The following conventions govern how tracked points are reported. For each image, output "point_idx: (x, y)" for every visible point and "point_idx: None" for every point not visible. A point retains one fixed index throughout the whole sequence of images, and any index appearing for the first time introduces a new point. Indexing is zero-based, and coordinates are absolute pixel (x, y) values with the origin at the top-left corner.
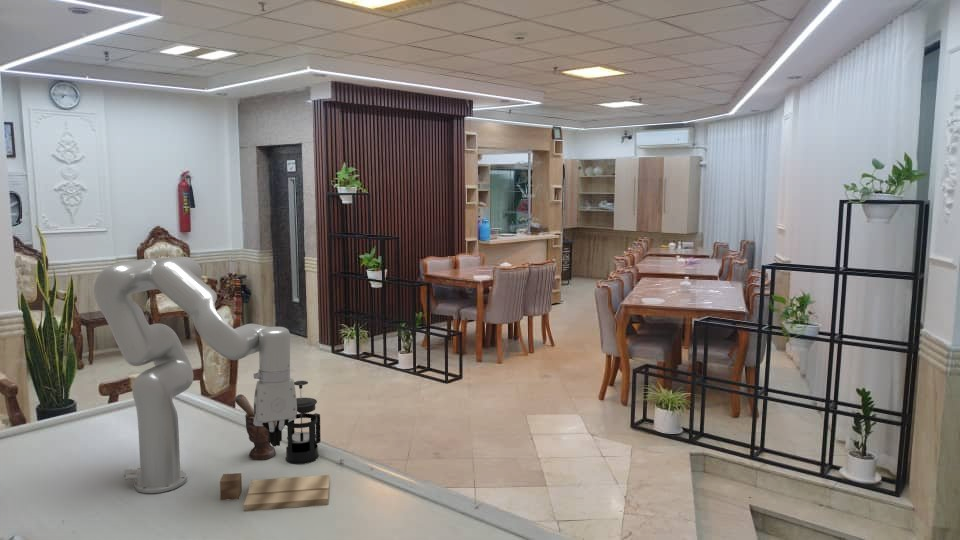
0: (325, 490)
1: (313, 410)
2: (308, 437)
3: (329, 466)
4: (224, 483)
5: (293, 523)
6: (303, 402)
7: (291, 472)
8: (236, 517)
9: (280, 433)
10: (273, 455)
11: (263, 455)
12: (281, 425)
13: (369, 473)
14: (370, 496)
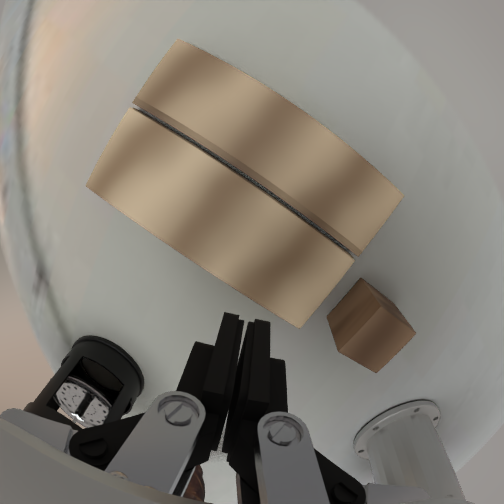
0: (147, 94)
1: None
2: (68, 394)
3: (65, 280)
4: (405, 323)
5: (327, 20)
6: None
7: (156, 324)
8: (424, 175)
9: (192, 381)
10: None
11: None
12: (167, 433)
13: (16, 168)
14: (79, 37)
